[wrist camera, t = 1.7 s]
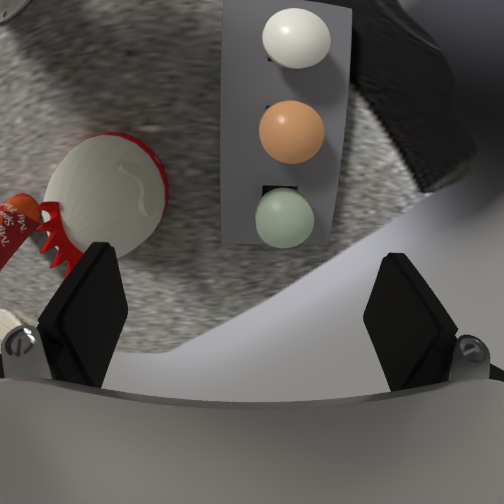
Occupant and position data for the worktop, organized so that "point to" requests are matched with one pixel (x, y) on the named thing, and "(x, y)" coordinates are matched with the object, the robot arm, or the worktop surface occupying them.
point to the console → (265, 94)
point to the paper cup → (16, 224)
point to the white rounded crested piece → (103, 197)
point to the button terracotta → (291, 131)
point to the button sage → (283, 218)
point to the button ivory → (296, 38)
